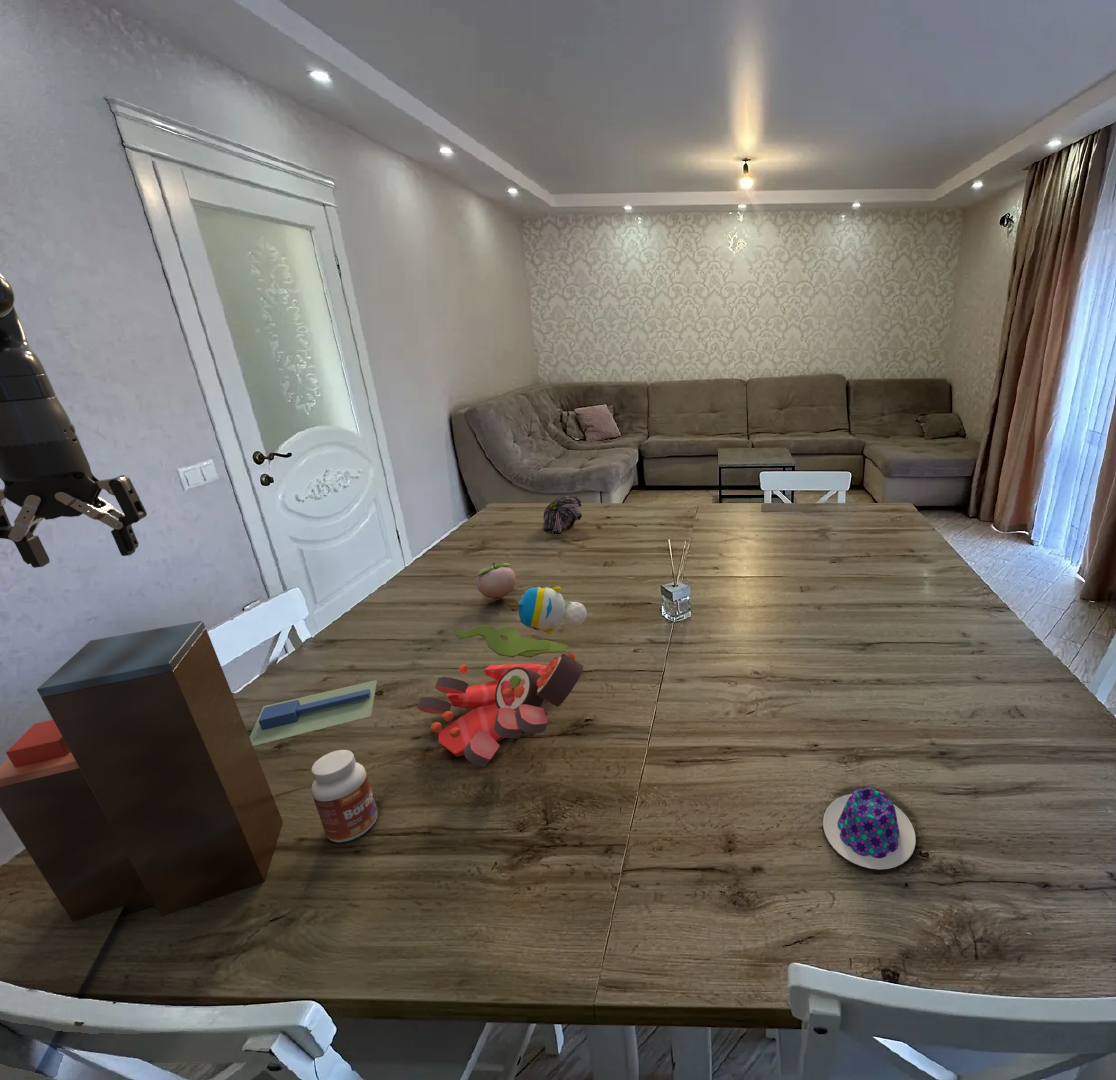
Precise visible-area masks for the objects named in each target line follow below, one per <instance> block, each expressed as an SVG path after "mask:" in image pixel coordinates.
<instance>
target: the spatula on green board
mask: <svg viewBox="0 0 1116 1080" xmlns="http://www.w3.org/2000/svg"><path fill="white" fill-rule="evenodd" d="M377 683H378V679H375V680H370V681H367V682H360V683H358V684H357V683H356V684H353V685H349V686H345V687H340V688H336V689H332V690H327V691H323V692H319V693H315V694H310V695H306V696H302V697H297V698H293V699H290V700H284V701H279V702H276V703H271V704H267V705H263V706H262V708H261V711H260V713H259V715H258V717H257V719H256V721H255V724H254V726H253V728H252V731H251V733H250V735H249V738H250V740H251V743H252V745H253V747H255V746H256V747H257V746H259V745H263V744H268V743H272V742H275V741H280V740H284V739H288V738H291V737H296V736H300V735H303V734H308V733H311V732H316V731H319V730H323V729H327V728H331V727H335V726H339V725H344V724H346V723H347V724H348V723H351V722H355V721H359V720H363V719H367V718H370V717H372V712H373V707H374V701H375V694H376V690H377V689H376V688H377ZM367 689H370V693H371V694H370V698H368V699H364V700H359V701H355V702H351V703H347V704H343V705H339V706H335V707H330V708H326V709H322V710H318V711H314V712H310V713H305V714H301V715H299V717H298V720H297V722H294V723H290V724H286V725H282V726H278V727H274V728H269V729H265V730H262V729H261V726H260V724H259V719H260V716H261V714H262V712H263V710H264V708H265V707H269V706H273V705H277V704H282V703H286V702H290V701H295V700H299V703H300V705H303V704H307V703H312V702H316V701H320V700H324V699H329V698H333V697H337V696H341V695H346V694H350V693H354V692H358V691H363V690H367Z"/></svg>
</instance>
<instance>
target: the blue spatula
mask: <svg viewBox="0 0 1116 1080" xmlns="http://www.w3.org/2000/svg"><path fill="white" fill-rule="evenodd" d="M370 694H371V693H370V689H367V690H363V691H358V692H354V693H350V694H346V695H341V696H337V697H333V698H329V699H324V700H320V701H316V702H312V703H307V704H303V705H300V703H299V700H295V701H290V702H286V703H282V704H277V705H273V706H269V707H265V708H264V710H263V712H262V714H261V716H260V719H259V724H260V726H261V729H262V730H265V729H269V728H274V727H278V726H282V725H286V724H290V723H294V722H297V720H298V717H299V715H301V714H305V713H310V712H314V711H318V710H322V709H326V708H330V707H335V706H339V705H343V704H347V703H351V702H355V701H359V700H364V699H368V698H370Z"/></svg>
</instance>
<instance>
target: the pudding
mask: <svg viewBox="0 0 1116 1080" xmlns="http://www.w3.org/2000/svg"><path fill="white" fill-rule="evenodd" d="M822 826H823V831H824V835H825V837H826V839H827V841H828V843H829V844H830V845H831V847H832V848H833V849H834V850H835V851H836V852H837V854H839V855H840V856H841V857H843V858H844V859H846V860H847V861H849V862H851V863H852V864H854V865H857V866H860V867H863V868H867V869H869V870H870V869H871V870H872V869H873V870H889V869H892V868H897V867H899V866H901V865H903V864H904V863H905V862H907V861H908V860H909V859H910V858H911V856H912V855H913V853H914V851H915V848H916V843H917V839H916V837H917V835H916V832H915V828H914V826H913V824H912V822H911V821H910V819H909V817H908V816H907V815H906V814H905V812H903V810H901V809H900V807H898V806H896V805H895V804H894V803H893V802H892V800H890V799H889V797H888V795H887V794H886V793H884V792H883V791H878V790H876V789H875V788H872V787H866V788H865V789H864V788H858V789H855V790H854V791H853V792H852V793H848V794H845V795H842V796H840V797H838V798H836V799H835V800H833V801H832V802H831V803H830V804H829V805H828V807H827V808H826V810H825V812H824V815H823V820H822Z"/></svg>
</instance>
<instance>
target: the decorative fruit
mask: <svg viewBox="0 0 1116 1080" xmlns="http://www.w3.org/2000/svg"><path fill="white" fill-rule="evenodd" d="M510 567H513V565H512V564H510V563H509V562H499V563H497V564H496V563H495V562H492V566H490V567H484V568H482V569H480V570H479V571H478V572H477V574H476V576H475V578H476V580H475V585H476V589H477V590H478V591H479V593H480V594H481V595H482V596H484V597H486V598H488V599H491V600H501V599H502V598H504V597H505V596H507V595H509V594H510V593H512V591H513V590H514V588H515V586H516V580H517V579H516V578H517V577H516V574H515V572H514V571H513V569H512V568H510Z"/></svg>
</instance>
